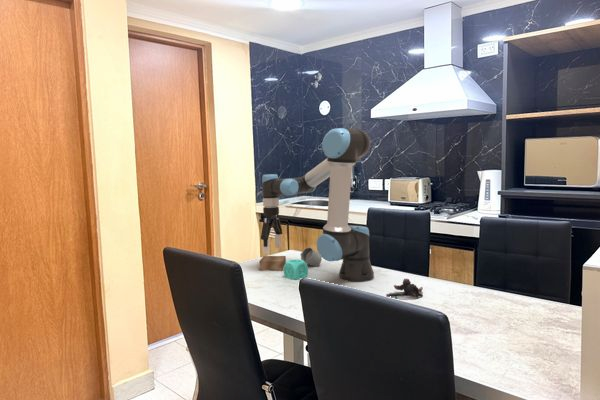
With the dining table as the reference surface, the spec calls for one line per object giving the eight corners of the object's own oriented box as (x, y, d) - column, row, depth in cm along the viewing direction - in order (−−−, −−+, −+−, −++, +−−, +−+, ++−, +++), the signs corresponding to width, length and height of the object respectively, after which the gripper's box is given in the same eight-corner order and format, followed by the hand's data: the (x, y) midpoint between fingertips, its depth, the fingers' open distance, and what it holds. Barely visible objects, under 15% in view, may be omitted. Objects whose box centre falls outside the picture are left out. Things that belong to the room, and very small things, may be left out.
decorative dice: (296, 275, 197) (295, 258, 196) (308, 278, 191) (308, 261, 190) (283, 279, 191) (282, 261, 191) (295, 282, 186) (295, 264, 185)
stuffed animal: (430, 289, 164) (415, 278, 157) (422, 313, 162) (407, 303, 154) (405, 283, 173) (389, 272, 166) (397, 306, 170) (381, 295, 163)
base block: (286, 267, 212) (285, 255, 212) (282, 273, 202) (282, 261, 201) (264, 267, 214) (263, 256, 213) (259, 273, 203) (259, 261, 202)
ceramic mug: (316, 270, 211) (325, 258, 210) (305, 264, 206) (314, 252, 205) (306, 259, 219) (315, 247, 219) (295, 253, 214) (305, 241, 214)
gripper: (274, 203, 218) (275, 244, 220) (252, 209, 194) (254, 255, 196) (287, 203, 215) (289, 245, 217) (267, 209, 192) (268, 256, 194)
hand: (272, 250), depth 207 cm, fingers open, 13 cm apart
